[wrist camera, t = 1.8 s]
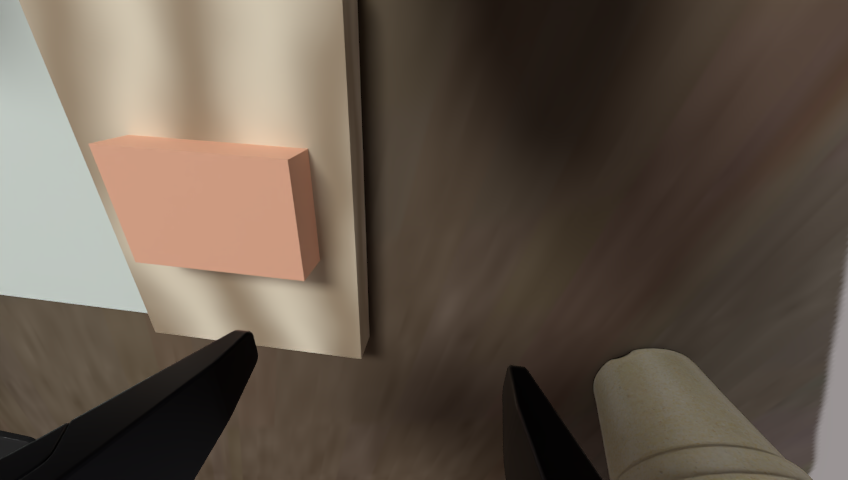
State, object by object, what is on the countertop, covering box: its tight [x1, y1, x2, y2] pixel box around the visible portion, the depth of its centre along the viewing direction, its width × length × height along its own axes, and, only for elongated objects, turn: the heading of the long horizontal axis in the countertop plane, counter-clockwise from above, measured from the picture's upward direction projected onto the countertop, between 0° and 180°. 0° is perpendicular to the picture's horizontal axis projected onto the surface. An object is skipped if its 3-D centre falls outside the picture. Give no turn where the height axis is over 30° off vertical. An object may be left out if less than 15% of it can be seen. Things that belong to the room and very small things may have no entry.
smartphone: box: [0, 431, 36, 459], centre depth 40 cm, size 7×1×15 cm
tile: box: [89, 135, 320, 281], centre depth 17 cm, size 9×6×2 cm, turn 87°
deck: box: [19, 0, 370, 359], centre depth 19 cm, size 14×20×2 cm
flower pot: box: [593, 348, 812, 480], centre depth 19 cm, size 9×9×9 cm
